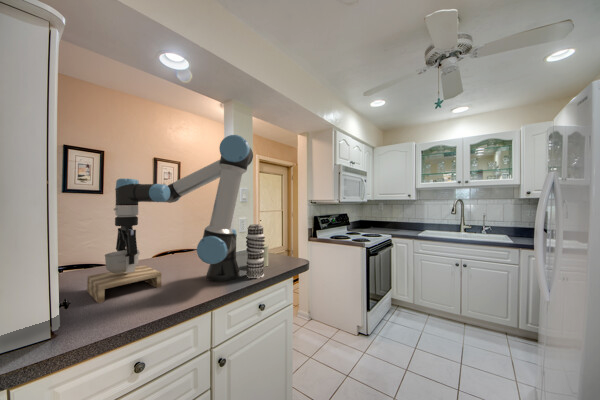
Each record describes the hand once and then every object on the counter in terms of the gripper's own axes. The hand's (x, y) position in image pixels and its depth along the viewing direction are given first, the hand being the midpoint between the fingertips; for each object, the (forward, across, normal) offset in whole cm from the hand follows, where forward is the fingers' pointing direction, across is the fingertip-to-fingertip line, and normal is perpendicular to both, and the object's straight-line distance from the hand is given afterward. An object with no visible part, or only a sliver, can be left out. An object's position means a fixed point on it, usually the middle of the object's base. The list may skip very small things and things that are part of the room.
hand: (125, 269), depth 92 cm
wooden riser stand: (+8, 0, 0) cm, 8 cm away
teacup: (+1, -1, 0) cm, 1 cm away
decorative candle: (+8, +29, +44) cm, 53 cm away
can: (+8, +18, +58) cm, 61 cm away
